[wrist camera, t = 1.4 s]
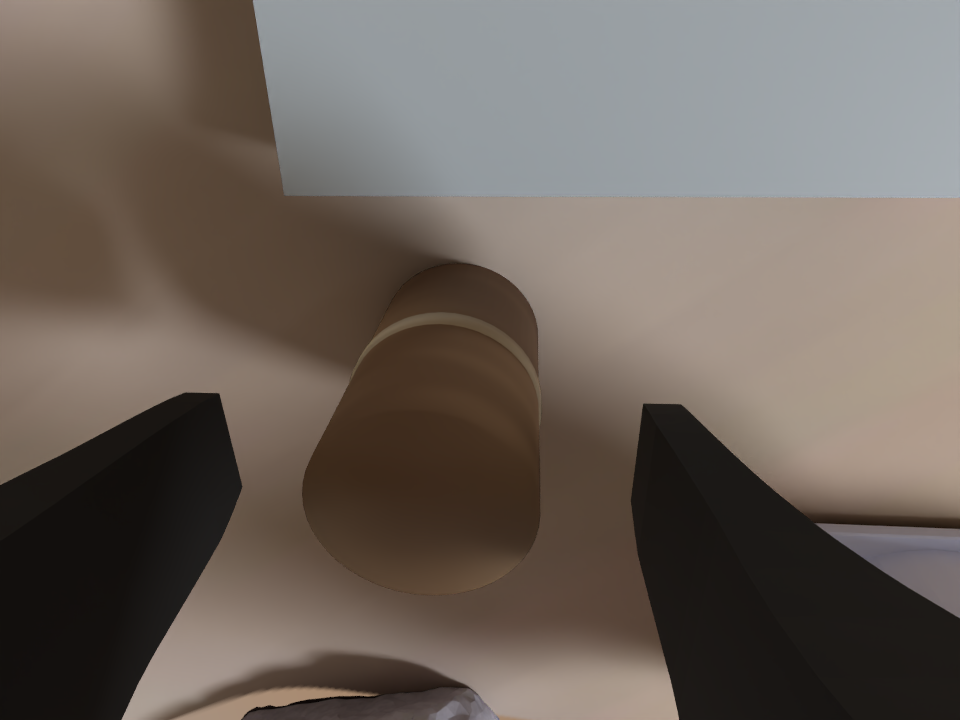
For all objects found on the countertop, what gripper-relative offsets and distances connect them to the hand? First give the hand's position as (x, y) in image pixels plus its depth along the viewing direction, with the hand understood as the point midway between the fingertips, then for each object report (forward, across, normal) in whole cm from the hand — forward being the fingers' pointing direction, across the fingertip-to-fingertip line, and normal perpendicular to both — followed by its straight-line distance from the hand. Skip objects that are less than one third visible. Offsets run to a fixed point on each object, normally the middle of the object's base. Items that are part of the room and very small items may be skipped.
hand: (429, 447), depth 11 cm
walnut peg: (+4, 0, 0) cm, 5 cm away
